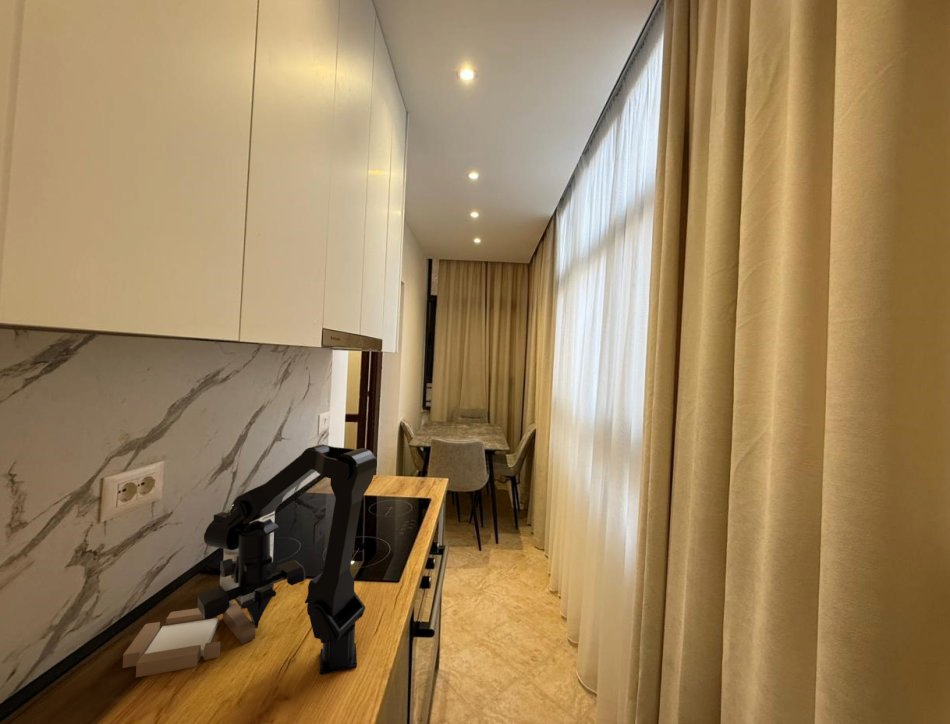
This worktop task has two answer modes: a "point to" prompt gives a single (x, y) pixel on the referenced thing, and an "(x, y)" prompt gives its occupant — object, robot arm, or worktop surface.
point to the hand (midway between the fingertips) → (254, 627)
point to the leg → (239, 623)
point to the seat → (173, 644)
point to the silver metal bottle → (227, 581)
